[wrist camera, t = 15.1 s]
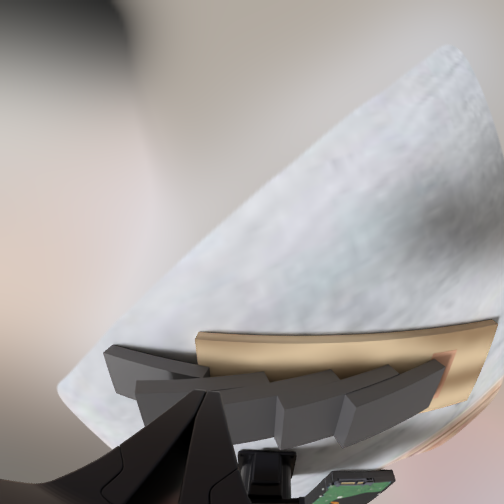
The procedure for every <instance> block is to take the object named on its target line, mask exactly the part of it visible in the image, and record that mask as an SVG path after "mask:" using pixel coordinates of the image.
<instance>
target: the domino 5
mask: <svg viewBox="0 0 504 504" xmlns="http://www.w3.org/2000/svg"><path fill="white" fill-rule="evenodd" d="M445 368H446V367H445V366H444V365H443V364H441V363H440V362H438V361H437V360H436V359H433V360H431V361H429V362H427V363H424V364H422V365H420V366H418V367H416V368H413V369H411V370H409V371H407V372H404V373H402V374H400V375H397V376H395V377H392V378H390V379H387V380H385V381H382V382H379V383H377V384H374V385H371V386H369V387H366V388H363V389H360V390H357V391H354V392H351V393H348V394H345V397H344V401H343V405H342V409H341V413H340V416H339V420H338V423H337V427H336V430H335V433H334V437H335V438H336V440H337V441H338V443H339V444H340V446H341V447H342V448H345V447H347V446H350V445H352V444H355V443H357V442H360V441H362V440H365V439H367V438H369V437H372V436H374V435H376V434H378V433H381V432H383V431H385V430H387V429H389V428H391V427H393V426H395V425H397V424H399V423H401V422H403V421H405V420H407V419H409V418H411V417H413V416H414V415H416V414H418V413H420V412H422V411H423V410H425V409H427V408H428V407H429V405H430V403H431V401H432V399H433V397H434V394H435V392H436V390H437V387H438V385H439V383H440V380H441V378H442V375H443V373H444V370H445Z"/></svg>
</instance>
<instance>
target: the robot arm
mask: <svg viewBox="0 0 504 504" xmlns="http://www.w3.org/2000/svg"><path fill="white" fill-rule="evenodd" d="M295 461H296V453H295V452H258V451H239V452H238V463H237V459H236V455H235V451H234V447H233V443H232V439H231V435H230V431H229V427H228V423H227V419H226V415H225V410H224V406H223V401H222V397H221V393H220V392H219V391H210V390H209V391H206V390H200V389H193V390H192V391H191V392H189V393H188V394H187V395H186V396H184V397H183V398H182V399H181V400H179V401H178V402H177V403H175V404H174V405H173V406H172V407H170V408H169V409H168V410H166V411H165V412H164V413H163V414H161V415H160V416H159V417H157V418H156V419H155V420H153V421H152V422H151V423H149V424H148V425H147V426H145V427H144V428H143V429H141V430H140V431H138V432H137V433H136V434H134V435H133V436H132V437H130V438H129V439H127V440H126V441H124V442H123V443H122V444H120V446H117V447H116V448H114V449H113V450H111V451H110V452H108V453H107V454H105V455H104V456H102V457H100V458H99V459H97V460H95V461H93V462H91V463H90V464H88V465H86V466H84V467H82V468H80V469H77V470H75V471H73V472H71V473H69V474H67V475H64V476H62V477H60V478H57V479H55V480H52V481H49V482H46V483H38V484H37V483H36V484H33V483H23V482H16V481H9V480H4V479H0V504H305V498H304V497H299V498H291V478H292V475H293V470H294V466H295Z"/></svg>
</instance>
